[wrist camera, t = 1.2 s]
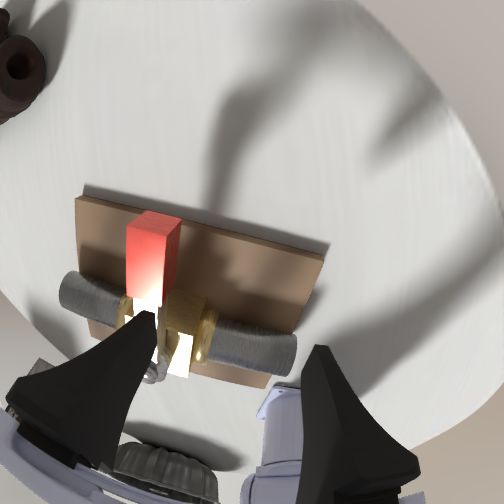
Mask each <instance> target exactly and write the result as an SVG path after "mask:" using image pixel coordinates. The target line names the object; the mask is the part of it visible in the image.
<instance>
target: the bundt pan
mask: <svg viewBox="0 0 504 504" xmlns="http://www.w3.org/2000/svg"><path fill="white" fill-rule="evenodd" d="M108 475H110V476H111V477H112V478H114V479H116V480H118V481H120V482H123V483H125V484H126V485H129V486H131V487H134V488H137V489H140V490H143V491H145V492H149V493H152V494H155V495H158V496H161V497H165V498H168V499H172V500H176V501H180V502H184V503H188V504H220V503H219V501H218V481H217V478H216V476H215V474H214V473H213V472H212V471H211V470H210V469H209V468H208V467H207V466H206V465H204V464H202V463H200V462H199V461H198V460H196V459H194V458H186V457H185V456H184V455H182V454H180V453H176V452H170V453H169V452H168V451H167V450H166V449H165V448H163V447H161V448H158V449H156V448H155V447H153V446H151V445H149V444H140V443H137V442H128V443H125V444H122V445H119V446H118V448H117V453H116V458H115V463H114V468H113V472H111V473H108Z"/></svg>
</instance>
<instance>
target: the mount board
mask: <svg viewBox="0 0 504 504" xmlns="http://www.w3.org/2000/svg"><path fill="white" fill-rule="evenodd" d="M145 211H146V210H143V209H138V208H134V207H130V206H126V205H122V204H117V203H113V202H109V201H104V200H100V199H96V198H92V197H87V196H83V195H81V196H79V197H77V198H75V226H76V242H77V254H78V264H79V272H80V273H82V274H85V275H87V276H90V277H93V278H95V279H98V280H101V281H104V282H107V283H109V284H112V285H115V286H118V287H121V288H124V289H127V285H126V231H127V225H128V224H130V223H131V222H132V221H133V220H135V219H136V218H137V217H139V216H140V215H141V214H143V213H144V212H145ZM323 263H324V260H323V256H322V255H319V254H316V253H312V252H308V251H304V250H301V249H297V248H293V247H289V246H285V245H282V244H278V243H274V242H270V241H266V240H263V239H259V238H255V237H251V236H247V235H243V234H239V233H235V232H232V231H228V230H224V229H220V228H216V227H212V226H208V225H204V224H200V223H196V222H192V221H188V220H184V219H182V226H181V233H180V241H179V249H178V257H177V266H176V275H175V284H174V286H173V287H172V288H176V289H179V290H183V291H186V292H190V293H193V294H197V295H200V296H204V297H207V302H206V307H207V308H211V309H215V310H219V311H220V313H219V317H221V318H225V319H229V320H233V321H237V322H241V323H245V324H249V325H253V326H258V327H262V328H266V329H271V330H275V331H280V332H285V333H290V334H292V333H293V331H294V329H295V327H296V325H297V323H298V321H299V318H300V316H301V314H302V312H303V310H304V307H305V305H306V303H307V301H308V299H309V296H310V294H311V292H312V289H313V287H314V285H315V282H316V280H317V278H318V275H319V273H320V271H321V268H322V266H323ZM87 321H88V325H89V330H90V334H91V337H94V338H96V339H98V340H101V341H103V340H104V339H106V338H107V337H109V336H110V335H111V334H113V333H114V332H115V331H116V330H114V329H111V328H109V327H106V326H104V325H101V324H99V323H97V322H94V321H92V320H89V319H87ZM190 372H192V373H195V374H199V375H203V376H206V377H210V378H214V379H218V380H223V381H227V382H231V383H236V384H240V385H245V386H250V387H255V388H260V389H265V387H266V385H267V383H268V381H269V379H270V378H271V376H272V374H267V373H262V372H257V371H252V370H248V369H243V368H238V367H234V366H230V365H226V364H221V363H217V362H213V361H210V360H208V362H207V365H206V366H204V365H201V364H197V363H193V362H192V365H191V368H190Z"/></svg>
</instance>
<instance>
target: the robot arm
mask: <svg viewBox="0 0 504 504" xmlns="http://www.w3.org/2000/svg"><path fill="white" fill-rule="evenodd" d="M157 344H158V341H157V328H156V313H155V312H152V311H148V310H144V309H143V310H141V311H140V312H139V313H138V314H136V315H135V316H134V317H133V318H132V319H130V320H129V321H128V322H127V323H125V324H124V325H123V326H122V327H120V328H119V329H118V330H116V331H115V332H114V333H113V334H111V335H110V336H109V337H107V338H106V339H104V340H103V341H102V342H100V343H99V344H97V345H96V346H94V347H93V348H91V349H90V350H88V351H86V352H85V353H83V354H81V355H79V356H77V357H76V358H74V359H72V360H70V361H68V362H66V363H63V364H61V365H59V366H56V367H54V368H51V369H48V370H45V371H42V372H39V373H36V374H32V375H28V376H24V377H19V378H18V379H17V380H16V382H15V383H14V385H13V386H12V387H11V389H10V391H9V392H8V393H7V395H6V397H5V398H6V401H7V403H8V404H9V405H10V406H11V408H12V409H13V410H14V411H15V412H16V413H17V414H18V415H19V416H20V417H21V419H22V422H21V423H19V422H18V421H17V420H15V419H14V418H13V417H12V416H11V415H9V414H8V413H7V412H6V411H4V410H3V409H2V408H0V463H1V464H2V465H3V466H4V467H5V468H6V469H7V470H8V471H9V472H10V473H12V474H13V475H14V476H15V477H16V478H18V480H19V481H21V482H22V483H23V484H24V485H25V486H27V487H28V488H29V489H30V490H32V491H33V492H34V493H35V494H37V495H38V496H39V497H41V498H42V499H43V500H45V501H46V502H48V503H49V504H126V503H124V502H121V501H119V500H117V499H114V498H112V497H110V496H107V495H105V494H104V493H103V490H106V491H108V492H110V493H112V494H115V495H117V496H120V497H122V498H125V499H128V500H130V501H133V502H135V503H138V504H188V503H184V502H180V501H176V500H172V499H168V498H165V497H161V496H158V495H155V494H152V493H149V492H145V491H143V490H140V489H137V488H134V487H131V486H129V485H126V484H123V483H121V482H118V481H116V480H113V479H111V478H109V477H107V476H104V475H102V474H100V473H98V472H96V471H94V470H99V471H101V472H103V473H105V474H108V473H111V472H113V468H114V463H115V458H116V453H117V448H118V444H119V440H120V436H121V433H122V429H123V426H124V423H125V419H126V416H127V413H128V410H129V407H130V404H131V402H132V400H133V397H134V395H135V393H136V391H137V389H138V387H139V385H140V383H141V381H142V379H143V377H144V375H145V373H146V371H147V369H148V367H149V365H150V363H151V361H152V358H153V355H154V352H155V350H156V347H157ZM256 418H257V419H261V420H265V426H264V439H263V451H262V463H261V466H259V467H256V474H254V473H253V474H250V475H249V477H248V478H246V479H245V481H244V483H243V485H242V488H241V493H240V504H426V503H425V496H424V492H423V491H422V492H419V493H415V494H412V495H409V496H405V497H402V498H399V499H398V494H400V493H401V486H403V485H404V484H407V483H408V482H410V481H412V480H414V479H416V478H417V477H418V476H419V475H420V474H421V471H420V466H419V462H418V458H417V456H416V455H414V454H413V453H411V452H410V451H409V450H407V449H406V448H404V447H403V446H402V445H401V444H399V443H398V442H397V441H396V440H395V439H394V438H392V437H391V436H390V435H389V434H388V433H387V432H386V431H385V430H384V429H383V428H382V427H381V426H380V425H379V424H378V423H377V422H376V421H375V419H374V418H373V417H372V416H371V415H370V413H369V412H368V411H367V410H366V408H365V407H364V406H363V404H362V403H361V402H360V400H359V399H358V397H357V396H356V394H355V393H354V391H353V390H352V388H351V386H350V385H349V383H348V381H347V380H346V378H345V376H344V375H343V373H342V371H341V369H340V367H339V366H338V364H337V362H336V360H335V358H334V356H333V354H332V352H331V351H330V349H329V347H328V346H325V345H317V344H315V345H314V347H313V350H312V352H311V354H310V356H309V358H308V360H307V362H306V364H305V366H304V368H303V370H302V372H301V389H294V388H287V387H281V386H274V387H273V388H272V389H271V391H270V393H269V394H268V396H267V398H266V400H265V401H264V403H263V405H262V406H261V408H260V410H259V411H258V413H257V415H256ZM91 468H92V469H94V470H92V469H91ZM102 489H103V490H102Z"/></svg>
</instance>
